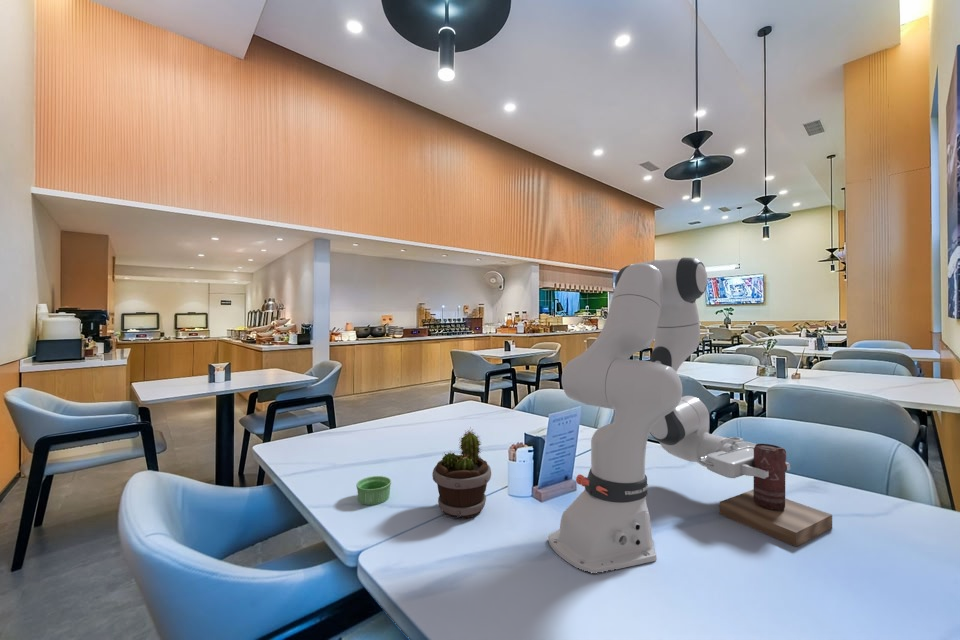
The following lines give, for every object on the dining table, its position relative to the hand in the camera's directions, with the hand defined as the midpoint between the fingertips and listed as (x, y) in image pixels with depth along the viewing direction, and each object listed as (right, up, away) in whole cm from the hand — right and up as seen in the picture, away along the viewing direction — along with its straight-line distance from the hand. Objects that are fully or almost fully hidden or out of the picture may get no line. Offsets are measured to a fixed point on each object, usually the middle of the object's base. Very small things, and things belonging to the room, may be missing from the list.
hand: (778, 470), depth 93 cm
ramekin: (-98, -13, +14) cm, 100 cm away
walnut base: (0, -12, +1) cm, 12 cm away
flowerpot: (-74, -13, +7) cm, 75 cm away
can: (0, -9, +2) cm, 9 cm away
